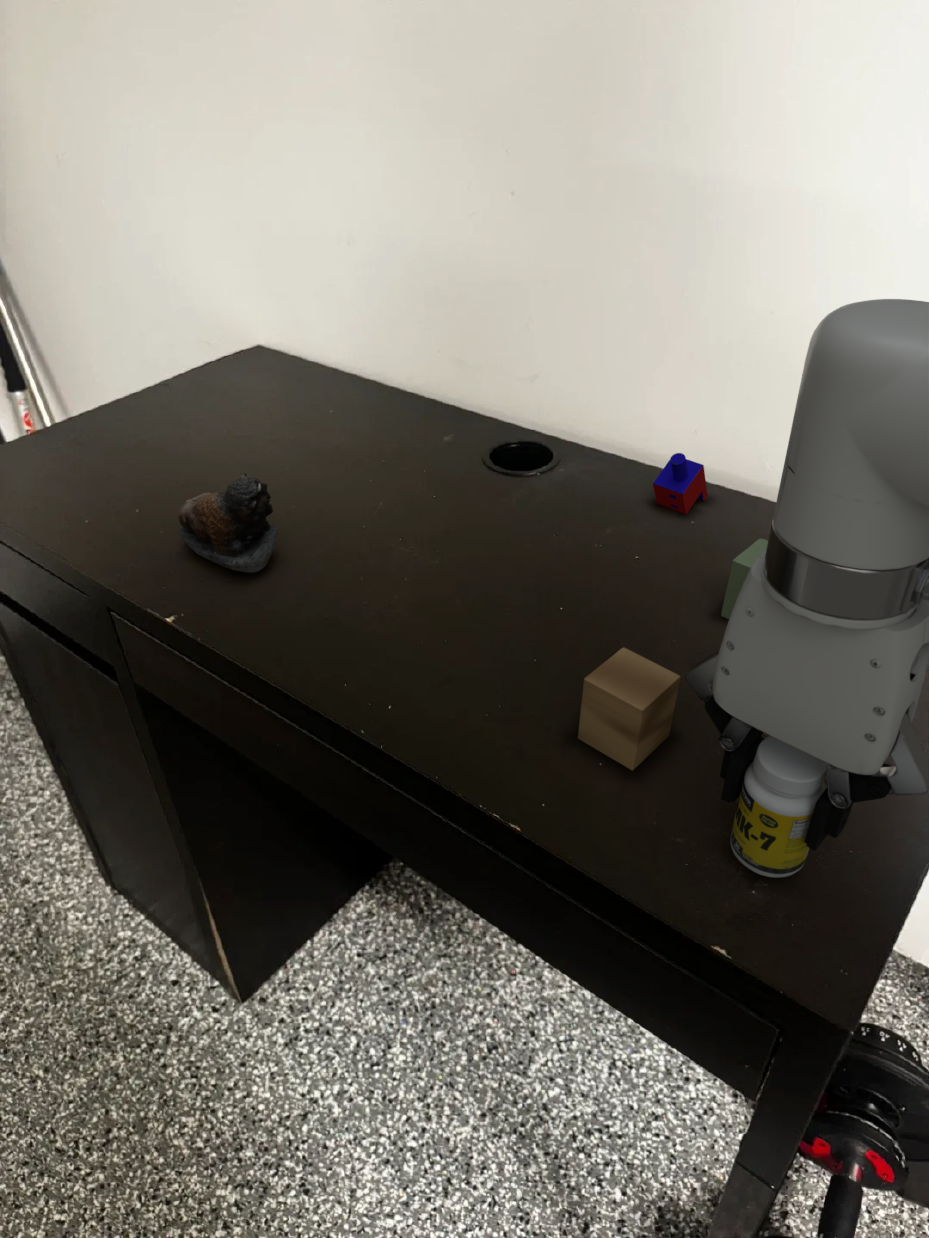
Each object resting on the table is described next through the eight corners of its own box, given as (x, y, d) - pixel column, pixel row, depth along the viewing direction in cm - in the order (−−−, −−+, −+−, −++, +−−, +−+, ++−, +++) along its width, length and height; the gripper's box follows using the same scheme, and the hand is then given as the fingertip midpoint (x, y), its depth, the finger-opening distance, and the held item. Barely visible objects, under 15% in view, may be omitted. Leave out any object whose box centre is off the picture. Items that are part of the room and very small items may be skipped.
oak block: (615, 705, 71) (623, 646, 67) (669, 735, 68) (681, 675, 64) (577, 738, 68) (583, 678, 64) (632, 771, 65) (642, 710, 61)
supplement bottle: (714, 836, 58) (733, 742, 54) (771, 812, 60) (795, 719, 55) (763, 891, 55) (788, 796, 50) (822, 864, 56) (852, 769, 52)
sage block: (747, 592, 83) (760, 537, 79) (797, 614, 80) (813, 558, 77) (720, 615, 80) (732, 559, 77) (771, 639, 77) (786, 582, 74)
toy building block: (658, 513, 98) (649, 466, 91) (678, 485, 99) (670, 437, 92) (687, 524, 96) (679, 477, 89) (707, 495, 97) (701, 447, 91)
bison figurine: (167, 550, 89) (146, 458, 83) (224, 522, 93) (208, 433, 87) (244, 595, 83) (227, 499, 77) (301, 563, 87) (289, 470, 81)
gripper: (1052, 592, 42) (941, 847, 53) (728, 485, 52) (689, 720, 62) (1001, 667, 38) (891, 929, 48) (657, 535, 47) (628, 778, 58)
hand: (778, 809), depth 55 cm, fingers closed on supplement bottle, 4 cm apart
